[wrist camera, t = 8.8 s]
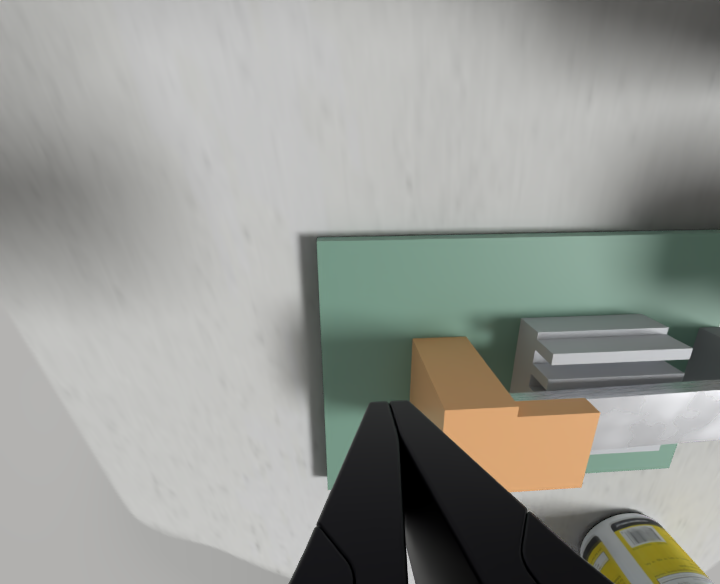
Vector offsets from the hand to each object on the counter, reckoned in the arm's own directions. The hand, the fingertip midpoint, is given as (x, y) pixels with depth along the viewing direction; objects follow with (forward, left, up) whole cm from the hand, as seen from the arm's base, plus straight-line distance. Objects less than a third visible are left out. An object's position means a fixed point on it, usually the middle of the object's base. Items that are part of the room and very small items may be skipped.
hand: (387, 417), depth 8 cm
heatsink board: (-10, +7, -13) cm, 17 cm away
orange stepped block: (-6, +7, -11) cm, 15 cm away
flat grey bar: (-13, +7, -8) cm, 16 cm away
